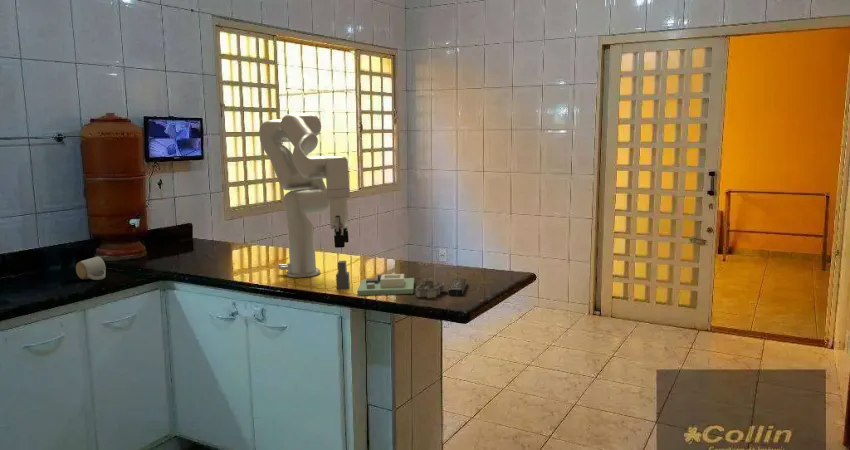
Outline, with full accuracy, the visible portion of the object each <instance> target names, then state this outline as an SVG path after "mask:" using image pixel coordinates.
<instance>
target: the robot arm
mask: <svg viewBox="0 0 850 450" xmlns="http://www.w3.org/2000/svg"><path fill="white" fill-rule="evenodd" d="M321 131H322V123H321V121H320V118H319V117H318V116H317V115H315V113H311V112H310V113H306V112H305V113H301V112H300V113H295V112H294V113H289V114H286V115H285V116H283V117H282V118H281V119H270V120H267V121H264V122H263V123H261V124H260V126H259V133H258V135H259V140H260V144H261V147H262V149H263V150H264V153H265V154H266V156H267V157H268V159H269V160H270V163H271V165H272V168H273V170H274V174H275V176H276V179H277V181H278V184H279V185H280V188H282V190H285V191H287V193H285V194H284V195H283V198H282V206H283V207H282V208H283V211H284V215H285V219H286V220H285V221H286V227H287V228H286V229H287V230H286V231H287V242H288V244H287V245H288V257H289V262H288V263H285V264H284V263H279V264H278V269H279V270H280V271H283V270H284V271H285V270H287V271H286V274H285V275H286V277H288V278H295V279H296V278H297V279H298V278H310V277H315V276H317V275H320V273H321V269H320V268H318V267H317V264H316V263H317V262H316V248H315V246H316V244H315V233H314V225H313V223H312V221H311V220H310V219H309V218H308V216H309V215H317V214H323V213H326V212H327V211H329V219H330V220H329V224H330V227H329V228H330V229H331V230H333V240H334V242H333V243H334V248H336V249H338V248H339V249H340V248H345V246H346V245H345V244H346V243H349V240H350V239H349V231H348V226H349V210H348V208H349V207H348V206H349V205H348V199H350V198H351V194H350V193H351V191H350V189H351V188H350V176H349V161H348V158H347V157H346V156H339V155H338V156H336V155H325V156H324V155H323V156H307V155H308V154H311V153H312V152H313V151H314V150H315V149H316V148H317V146H318V144H319V140H318V136H319V134H320V133H321ZM282 143H291V145H292V146H293V147H294V148H293V150H292V152H291V150H289V148H288V147H286V146H285V145H284V144H282ZM324 179H325V181H326V182H324ZM325 183H326V184H325Z"/></svg>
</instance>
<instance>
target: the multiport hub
mask: <svg viewBox="0 0 850 450" xmlns="http://www.w3.org/2000/svg"><path fill="white" fill-rule="evenodd" d="M467 281H468V280H467V278H453V279H452V282H451V283H450V286H449V288H448V296H454V297H455V296H457V297H458V296H459V297H461V296H463V295H464V293H465V290H466V287H467V284H468V283H467Z"/></svg>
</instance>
